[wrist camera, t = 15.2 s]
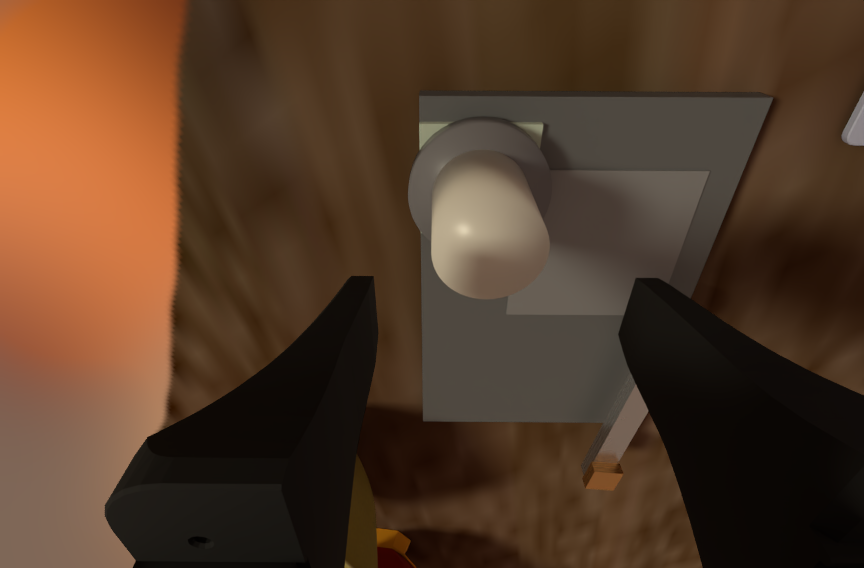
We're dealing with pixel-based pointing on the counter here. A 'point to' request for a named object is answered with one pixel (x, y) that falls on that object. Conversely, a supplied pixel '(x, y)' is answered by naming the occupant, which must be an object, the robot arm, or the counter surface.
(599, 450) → the rod with orange cap
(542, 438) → the counter surface
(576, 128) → the board
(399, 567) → the red and yellow vase
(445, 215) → the beige mushroom
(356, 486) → the flower pot
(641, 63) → the counter surface
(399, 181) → the counter surface
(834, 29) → the counter surface
